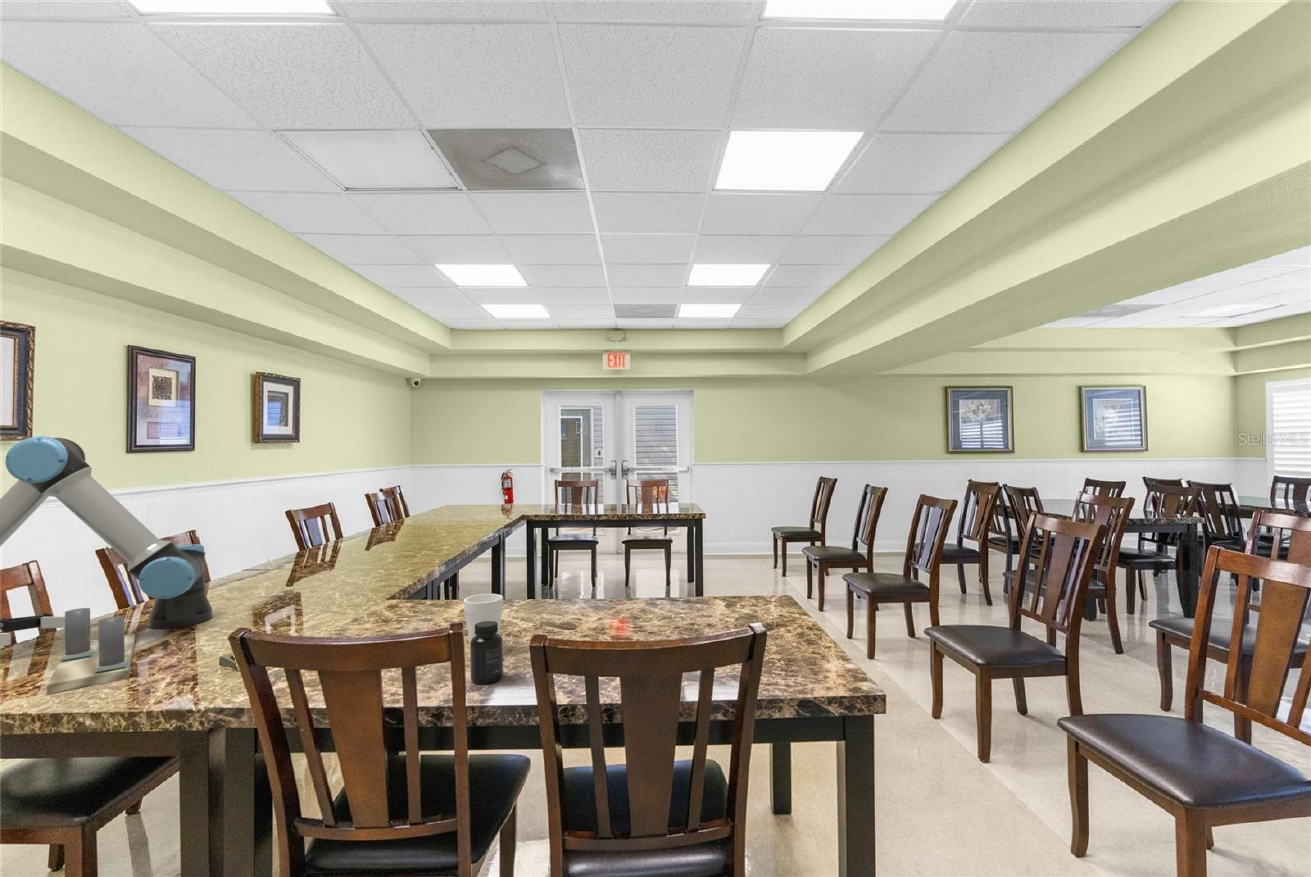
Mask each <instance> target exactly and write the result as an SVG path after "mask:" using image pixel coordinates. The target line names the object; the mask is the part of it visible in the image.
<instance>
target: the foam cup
mask: <svg viewBox="0 0 1311 877" xmlns="http://www.w3.org/2000/svg"><path fill="white" fill-rule="evenodd" d="M503 607H504V596H503V595H502V594H497V593H480V594H474V595H471V596H467V597H466V598H464V599H463V611H464V615H465V623H466V628H467V635H468V641H469V644H470V641H471V639H472V638H473V637H474V636H476V635H475V633H474V631H475V624H477V623H479V622H483V621H495V622H497V623H498V632H497V634H499V635H500V633H501V632H500V631H501V622H502V614H503Z"/></svg>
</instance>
